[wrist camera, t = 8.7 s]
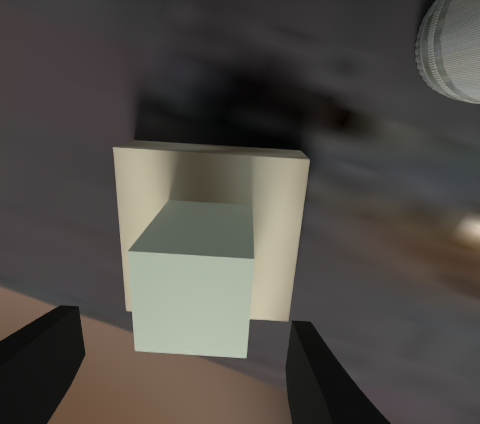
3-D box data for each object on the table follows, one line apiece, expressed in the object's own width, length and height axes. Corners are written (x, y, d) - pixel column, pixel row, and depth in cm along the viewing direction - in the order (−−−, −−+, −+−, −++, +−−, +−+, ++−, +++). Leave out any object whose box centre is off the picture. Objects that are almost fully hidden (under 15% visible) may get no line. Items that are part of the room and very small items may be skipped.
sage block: (252, 205, 17) (254, 258, 11) (247, 278, 18) (246, 358, 13) (168, 200, 17) (127, 251, 11) (170, 273, 18) (134, 350, 13)
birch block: (300, 150, 19) (309, 159, 16) (283, 292, 22) (288, 321, 19) (133, 140, 19) (113, 147, 16) (142, 283, 22) (126, 310, 19)
